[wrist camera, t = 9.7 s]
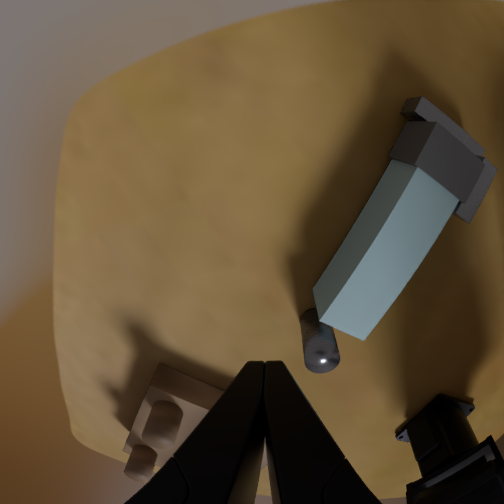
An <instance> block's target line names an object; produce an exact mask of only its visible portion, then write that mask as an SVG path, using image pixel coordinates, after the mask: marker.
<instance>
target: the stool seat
mask: <svg viewBox="0 0 504 504" xmlns="http://www.w3.org/2000/svg"><path fill="white" fill-rule="evenodd" d="M223 392H224V391H223V390H221V389H218V388H216V387H213V386H211V385H208V384H206V383H204V382H201V381H199V380H196V379H194V378H192V377H189V376H187V375H185V374H183V373H180V372H178V371H176V370H174V369H171V368H169V367H167V366H165V365H163V364H161V363H159V365H158V367H157V369H156V372H155V374H154V376H153V379H152V381H151V383H150V386H149V388H148V390H147V393H146V395H145V397H144V400H143V402H142V404H141V407H140V409H139V411H138V414H137V416H136V419H135V421H134V423H133V426H132V428H131V431H130V433H129V436H128V438H127V440H126V443H125V445H124V448H123V450H122V451H124V452H126V453H128V454H130V457H129V459H128V462H127V465H126V467H125V470H124V473H125V474H126V475H127V476H128V477H129V478H131V479H133V480H135V481H138V482H143V483H147V482H148V481H149V480H150V479H151V475H152V472H153V469H154V466H155V465H157V466H159V467H162V466H163V465H164V464H165V463H166V462H167V461H168V459H169V458H170V457H173V454H174V453H175V451H176V450H177V449H178V448H179V447H180V446H181V444H182V443H183V442H184V441H185V440H186V438H187V437H188V436H189V435H190V434H191V432H192V431H193V430H194V429H195V427H196V426H197V425H198V424H199V423H200V421H201V420H202V419H203V418H204V416H205V415H206V414H207V413H208V411H209V410H210V409H211V408H212V406H213V405H214V404H215V403H216V401H217V400H218V399H219V398H220V396H221V395H222V394H223ZM267 465H268V463H267V455H266V444H265V446H264V453H263V459H262V464H261V470H262V469H263V468H264V467H265V466H267Z"/></svg>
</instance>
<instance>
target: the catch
mask: <svg viewBox="0 0 504 504" xmlns="http://www.w3.org/2000/svg"><path fill="white" fill-rule="evenodd" d="M401 113H402V114H403V115H405V116H406V117H408V118H409V119H410V120H412V121H427V122H438V123H439V124H440V125H442V126H443V127H444V128H445V129H446V130H448V131H449V132H450V133H451V134H452V135H454V136H455V137H456V138H457V139H458V140H459V141H460V142H462V143H463V144H464V145H465V146H466V147H467V148H468V149H469V150H470V151H471V152H473V153H474V154H475V155H476V156H477V157H478V158H479V159H480V160H481V161H482V162H483V163H484V164H485V167H484V169H483V171H482V173H481V175H480V177H479V179H478V181H477V183H476V185H475V187H474V188H473V190H472V192H471V194H470V196H469V198H468V200H467V201H466V203H465V204H464V203H462V202H460V201H459V202H458V203H457V205H456V207H455V209H454V210H453V212H452V214H453V215H455V216H457V217H458V218H460V219H462V220H463V221H465V222H467V223H469V224H470V222H471V220H472V218H473V216H474V215H475V213H476V211H477V209H478V207H479V206H480V204H481V202H482V200H483V198H484V196H485V194H486V192H487V190H488V188H489V186H490V184H491V182H492V180H493V178H494V176H495V174H496V172H497V169H496V168H495V167H494V166H493V165H492V164H491V163H490V162H489V161H488V160H487V159H486V158H485V157H482V156H483V154H484V152H485V149H484V148H483V147H482V146H481V145H479V144H478V143H477V142H476V141H475V140H474V139H473V138H472V137H471V136H470V135H469V134H468V133H466V132H465V131H464V130H463V129H462V128H461V127H460V126H459V125H457V124H456V123H455V122H454V121H453V120H452V119H450V118H449V117H448V116H447V115H446V114H444V113H443V112H442V111H441V110H439V109H438V108H437V107H436V106H434V105H433V104H432V103H431V102H429V101H428V100H427V99H425V98H424V97H423V96H420V97H414V98H408V99H407V101H406V103H405V105H404V107H403V108H402V110H401Z"/></svg>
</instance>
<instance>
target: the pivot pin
mask: <svg viewBox="0 0 504 504" xmlns="http://www.w3.org/2000/svg"><path fill="white" fill-rule="evenodd" d="M300 326H301V334H302V343H303V352H304V361H305V366H306V367H307V369H308V370H310V371H312V372H314V373H326V372H329V371H331V370H333V369H334V368H335V367H336V366H337V365H338V364H339V362H340V354H339V350H338V346H337V342H336V338H335V334H334V330H333V327H332V326H330V325H327V324H325V323H323V322H321V321H319V317H318V312H317V308H312V309H309V310H307V311H306V312H305V313H304V314H303V315H302V316H301V319H300Z"/></svg>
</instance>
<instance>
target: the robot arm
mask: <svg viewBox="0 0 504 504" xmlns="http://www.w3.org/2000/svg"><path fill="white" fill-rule="evenodd" d="M474 409H475V406H474V404H472V403H469V402H466V401H462V400H459V399H456V398H453V397H450V396H447V395H444V394H440V395H438V396H437V397H436V398H435V399H434V400H433V401H432V402H431V403H430V404H428V405H427V406H426V407H425V408H424V409H423V410H422V411H421V412H420V413H419V414H418V415H417V416H416V417H415V418H414V419H413V420H412V421H410V422H409V423H408V424H407V425H406V426H405V427H404V428H403V429H401V430H400V431H399V432H398V433H397V434H396V435H395V436H396V439H397V440H400V441H405V442H410V444H411V447H412V450H413V453H414V456H415V459H416V461H417V462H418V465H419V469H420V472H421V475H422V477H423V478H421V479H419V480H417V481H415V482H413V483H412V482H411V483H409V484H407V485H406V488H407V492H406V499H407V504H504V460H503V458H502V456H501V454H500V452H499V450H498V448H497V446H496V444H495V442H494V440H493V438H492V436H491V435H490V436H488V437H487V438H486V440H484V441H483V442H481V443H480V444H479V443H478V440H477V438H476V436H475V434H474V432H473V430H472V428H471V426H470V424H469V422H468V420H467V418H466V417H467V416H468V415H469V414H470V413H471V412H472V411H473V410H474ZM265 444H266V455H267V463H268V471H269V479H270V487H271V495H272V502H273V504H382V503H381V502H380V501H379V500H378V499H377V497H376V496H375V495H374V494H373V493H372V492H371V491H370V490H369V488H368V487H367V486H366V485H365V483H364V482H363V481H362V479H361V478H360V477H359V475H358V474H357V473H356V471H355V470H354V468H353V467H352V465H351V464H350V463H349V461H348V460H347V459H345V456H344V454H343V453H342V451H341V450H340V448H339V447H338V445H337V444H336V442H335V441H334V439H333V438H332V436H331V435H330V433H329V432H328V430H327V429H326V427H325V426H324V424H323V423H322V421H321V420H320V418H319V417H318V415H317V413H316V412H315V410H314V409H313V407H312V406H311V404H310V403H309V401H308V400H307V398H306V397H305V395H304V394H303V392H302V390H301V389H300V387H299V386H298V384H297V383H296V381H295V380H294V378H293V376H292V375H291V373H290V372H289V370H288V369H287V367H286V366H285V364H284V363H283V361H266V362H265V363H264V361H248V362H247V363H246V364H245V365H244V366H243V368H242V369H241V370H240V372H239V373H238V374H237V376H236V377H235V378H234V380H233V381H232V382H231V383H230V385H229V386H228V387H227V389H226V390H225V391H224V392H223V394H222V395H221V396H220V398H219V399H218V400H217V401H216V403H215V404H214V405H213V406H212V408H211V409H210V410H209V411H208V413H207V414H206V415H205V416H204V418H203V419H202V420H201V421H200V423H199V424H198V425H197V426H196V427H195V429H194V430H193V431H192V432H191V434H190V435H189V436H188V437H187V438H186V440H185V441H184V442H183V443H182V444H181V446H180V447H179V448H178V449H177V450H176V451H175V453H174V454H173V457H170V458H169V459H168V461H167V462H166V463H165V464H164V465H163V466H162V468H161V469H160V470H159V471H158V472H157V473H156V474H155V475H154V476H153V477H152V478H151V479H150V480H149V481H148V483H147V484H146V485H144V486H143V488H141V489H140V490H139V491H138V492H137V493H136V494H134V495H133V496H132V497H131V498H130V499H129V500H128V501H126V502H125V503H124V504H254V502H255V497H256V492H257V487H258V481H259V476H260V470H261V464H262V459H263V453H264V446H265ZM494 457H495V459H494V460H491V459H492V458H494Z"/></svg>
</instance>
